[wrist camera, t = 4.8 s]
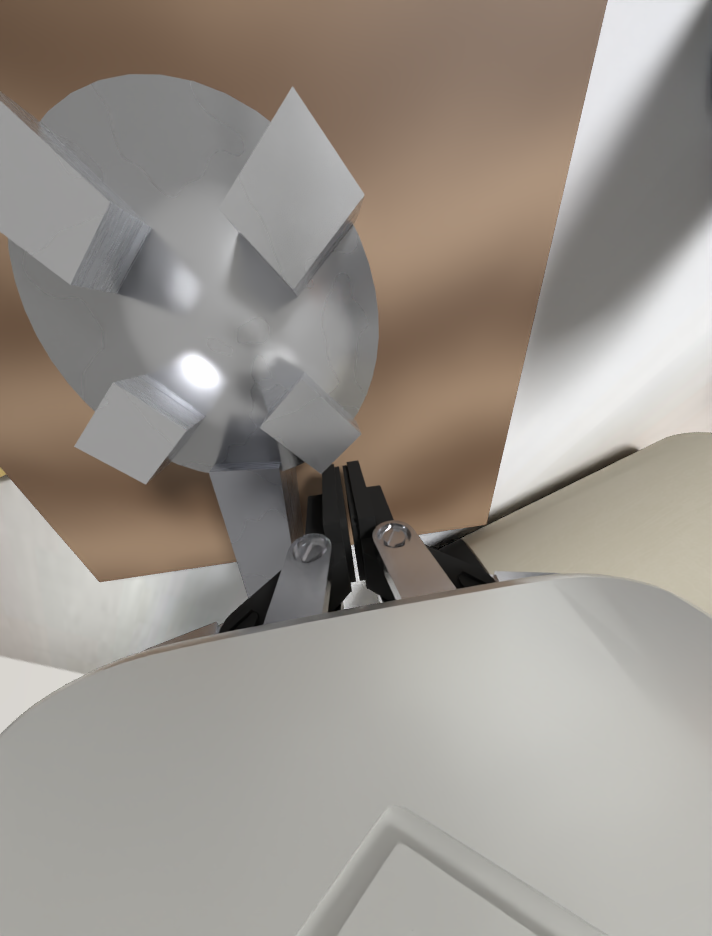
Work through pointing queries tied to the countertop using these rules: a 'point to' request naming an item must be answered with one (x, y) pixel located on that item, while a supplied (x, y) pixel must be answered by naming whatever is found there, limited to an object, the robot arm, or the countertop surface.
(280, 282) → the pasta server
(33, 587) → the countertop surface
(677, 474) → the travel mug
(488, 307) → the walnut board
